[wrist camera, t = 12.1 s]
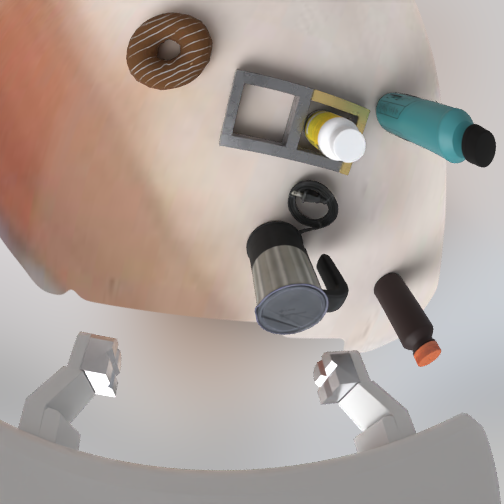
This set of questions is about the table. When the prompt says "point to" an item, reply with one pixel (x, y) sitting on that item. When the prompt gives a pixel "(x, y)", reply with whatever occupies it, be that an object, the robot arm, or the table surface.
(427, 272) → the table surface
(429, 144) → the beverage bottle
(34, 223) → the table surface
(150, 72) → the donut
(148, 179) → the table surface
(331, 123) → the supplement bottle
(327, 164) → the grey compartment tray
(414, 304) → the vinegar
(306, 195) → the milk frother
